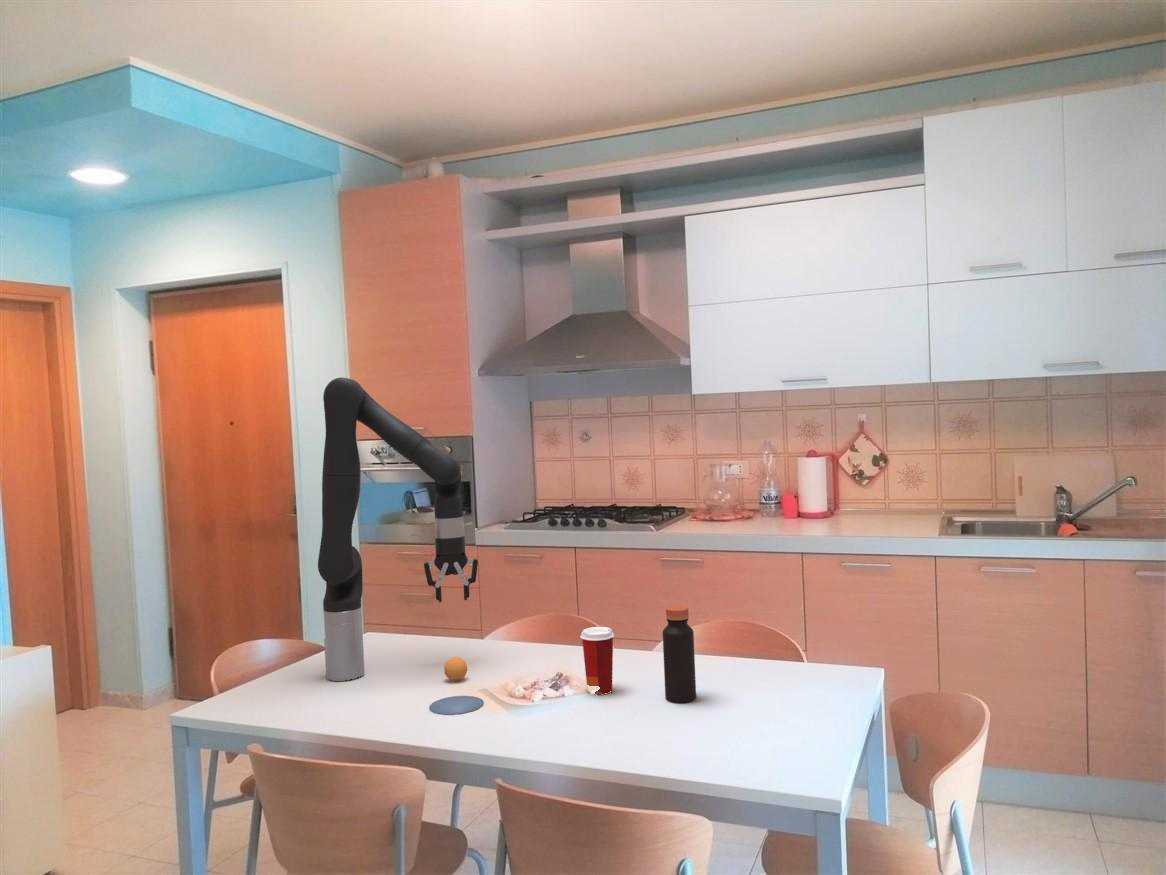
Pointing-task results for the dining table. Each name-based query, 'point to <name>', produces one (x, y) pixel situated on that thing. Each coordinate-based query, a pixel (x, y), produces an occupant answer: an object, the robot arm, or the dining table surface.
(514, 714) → the dining table surface
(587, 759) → the dining table surface
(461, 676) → the ball
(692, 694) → the bottle
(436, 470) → the robot arm
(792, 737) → the dining table surface
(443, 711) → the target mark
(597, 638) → the paper cup
